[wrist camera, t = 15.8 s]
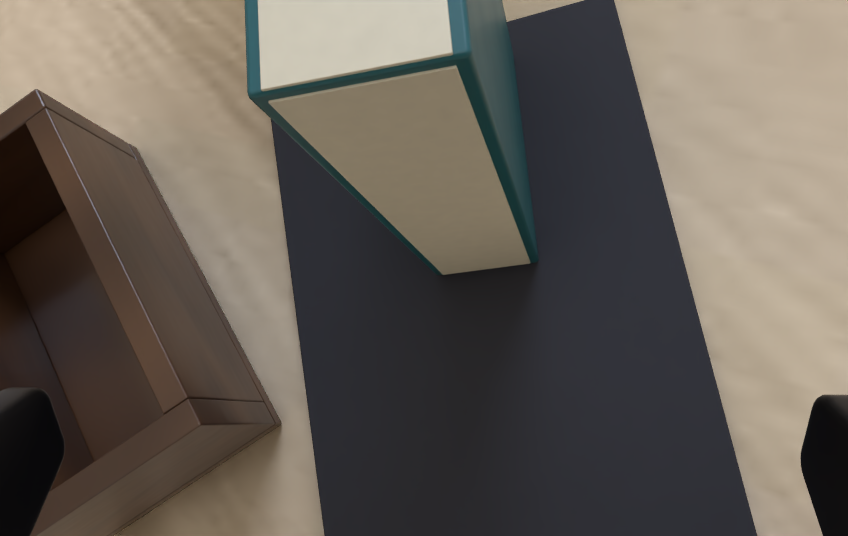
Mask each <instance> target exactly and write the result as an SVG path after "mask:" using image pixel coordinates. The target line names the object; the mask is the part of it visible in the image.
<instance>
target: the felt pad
mask: <svg viewBox="0 0 848 536" xmlns="http://www.w3.org/2000/svg"><path fill="white" fill-rule="evenodd" d="M507 27H508V32H509V36H510V41H511V46H512V51H513V56H514V64H515V72H516V80H517V88H518V96H519V104H520V112H521V120H522V128H523V136H524V144H525V152H526V161H527V169H528V177H529V185H530V193H531V201H532V209H533V217H534V225H535V233H536V241H537V249H538V257H539V260H538V262H535V263H530V264H523V265H515V266H507V267H500V268H492V269H485V270H477V271H469V272H462V273H454V274H446V275H436V274H435V273H434V272H433V271H432V270H431V269H430V268H429V267H428V266H427V265H426V264H425V263H424V262H423V261H422V260H421V259H419V258H418V257H417V256H416V255H415V254H414V253H413V252H412V251H411V250H410V249H409V248H408V247H407V246H406V245H405V244H404V243H403V242H401V241H400V240H399V239H398V238H397V237H396V236H395V235H394V234H393V233H392V232H391V231H390V230H389V229H388V228H387V227H386V226H384V225H383V224H382V223H381V222H380V221H379V220H378V219H377V218H376V217H375V216H374V215H373V214H372V213H371V212H370V211H369V210H368V209H366V208H365V207H364V206H363V205H362V204H361V203H360V202H359V201H358V200H357V199H356V198H355V197H354V196H353V195H352V194H351V193H350V192H348V191H347V190H346V189H345V188H344V187H343V186H342V185H341V184H340V183H339V182H338V181H337V180H336V179H335V178H334V177H333V176H331V175H330V174H329V173H328V172H327V171H326V170H325V169H324V168H323V167H322V166H321V165H320V164H319V163H318V162H317V161H316V160H315V159H313V158H312V157H311V156H310V155H309V154H308V153H307V152H306V151H305V150H304V149H303V148H302V147H301V146H300V145H299V144H298V143H297V142H295V141H294V140H293V139H292V138H291V137H290V136H289V135H288V134H287V133H286V132H285V131H284V130H283V129H282V128H281V127H280V126H278V125H277V124H276V123H275V122H274V121H273V120H272V119H271V122H272V130H273V138H274V146H275V153H276V161H277V169H278V177H279V185H280V192H281V200H282V208H283V216H284V223H285V231H286V239H287V247H288V254H289V262H290V270H291V278H292V286H293V293H294V301H295V309H296V317H297V324H298V332H299V340H300V348H301V355H302V363H303V371H304V379H305V387H306V394H307V402H308V410H309V418H310V425H311V433H312V441H313V449H314V456H315V464H316V472H317V480H318V488H319V495H320V503H321V511H322V519H323V526H324V534H325V536H757V534H756V530H755V526H754V523H753V519H752V515H751V511H750V508H749V504H748V500H747V496H746V493H745V489H744V485H743V481H742V478H741V474H740V470H739V466H738V463H737V459H736V455H735V451H734V448H733V444H732V440H731V436H730V433H729V429H728V425H727V422H726V418H725V414H724V410H723V407H722V403H721V399H720V395H719V392H718V388H717V384H716V380H715V377H714V373H713V369H712V365H711V362H710V358H709V354H708V350H707V347H706V343H705V339H704V335H703V332H702V328H701V324H700V321H699V317H698V313H697V309H696V306H695V302H694V298H693V294H692V291H691V287H690V283H689V279H688V276H687V272H686V268H685V264H684V261H683V257H682V253H681V249H680V246H679V242H678V238H677V234H676V231H675V227H674V223H673V220H672V216H671V212H670V208H669V205H668V201H667V197H666V193H665V190H664V186H663V182H662V178H661V175H660V171H659V167H658V163H657V160H656V156H655V152H654V148H653V145H652V141H651V137H650V133H649V130H648V126H647V122H646V119H645V115H644V111H643V107H642V104H641V100H640V96H639V92H638V89H637V85H636V81H635V77H634V74H633V70H632V66H631V62H630V59H629V55H628V51H627V47H626V44H625V40H624V36H623V32H622V29H621V25H620V21H619V18H618V14H617V10H616V6H615V3H614V0H584V1H581V2H577V3H574V4H570V5H566V6H563V7H559V8H556V9H552V10H548V11H545V12H541V13H538V14H534V15H531V16H527V17H523V18H520V19H516V20H513V21H509V22H507Z"/></svg>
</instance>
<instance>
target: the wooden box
mask: <svg viewBox="0 0 848 536" xmlns="http://www.w3.org/2000/svg"><path fill="white" fill-rule="evenodd" d="M11 387H37V388H41V389H43V390H45V391H46V392H47V394H48V395H49V397H50V399H51V402H52V405H53V408H54V411H55V413H56V416H57V419H58V422H59V425H60V428H61V431H62V434H63V436H64V440H65V454H64V458H63V461H62V464H61V466H60V469H59V471H58V473H57V476H56V478H55V480H54V482H53V485H52V487H51V489H50V492H49V494H48V496H47V499H46V501H45V503H44V506H43V508H42V510H41V513H40V515H39V517H38V519H37V522H36V524H35V526H34V529H33V531H32V533H31V536H113V535H115V534H116V533H118V532H119V531H121V530H122V529H124V528H125V527H127V526H128V525H130V524H131V523H133V522H134V521H136V520H137V519H139V518H140V517H142V516H144V515H145V514H147V513H148V512H150V511H151V510H153V509H154V508H156V507H157V506H159V505H160V504H162V503H163V502H165V501H166V500H168V499H169V498H171V497H172V496H174V495H175V494H177V493H178V492H180V491H181V490H183V489H184V488H186V487H187V486H189V485H190V484H192V483H193V482H195V481H196V480H198V479H199V478H201V477H202V476H204V475H205V474H207V473H208V472H210V471H211V470H213V469H214V468H216V467H217V466H219V465H220V464H222V463H223V462H225V461H226V460H228V459H229V458H231V457H232V456H234V455H235V454H237V453H238V452H240V451H241V450H243V449H244V448H246V447H247V446H249V445H250V444H252V443H254V442H255V441H257V440H258V439H260V438H261V437H263V436H264V435H266V434H267V433H269V432H270V431H272V430H273V429H275V428H276V427H278V426H279V425H280V424H281V421H280V420H279V418H278V416H277V414H276V412H275V410H274V408H273V406H272V404H271V402H270V401H269V399H268V397H267V395H266V393H265V391H264V389H263V387H262V385H261V383H260V382H259V380H258V378H257V376H256V374H255V372H254V370H253V368H252V366H251V364H250V363H249V361H248V359H247V357H246V355H245V353H244V351H243V349H242V347H241V346H240V344H239V342H238V340H237V338H236V336H235V334H234V332H233V330H232V328H231V327H230V325H229V323H228V321H227V319H226V317H225V315H224V313H223V311H222V309H221V308H220V306H219V304H218V302H217V300H216V298H215V296H214V294H213V292H212V290H211V289H210V287H209V285H208V283H207V281H206V279H205V277H204V275H203V273H202V272H201V270H200V268H199V266H198V264H197V262H196V260H195V258H194V256H193V254H192V253H191V251H190V249H189V247H188V245H187V243H186V241H185V239H184V237H183V235H182V234H181V232H180V230H179V228H178V226H177V224H176V222H175V220H174V218H173V217H172V215H171V213H170V211H169V209H168V207H167V205H166V203H165V201H164V199H163V198H162V196H161V194H160V192H159V190H158V188H157V186H156V184H155V182H154V180H153V179H152V177H151V175H150V173H149V171H148V169H147V167H146V165H145V163H144V161H143V160H142V158H141V156H140V154H139V152H138V150H137V148H136V147H134V146H132V145H131V144H128V143H127V142H125V141H123V140H122V139H120V138H118V137H116V136H115V135H113V134H111V133H110V132H108V131H106V130H105V129H103V128H101V127H100V126H98V125H96V124H95V123H93V122H91V121H90V120H88V119H86V118H85V117H83V116H81V115H80V114H78V113H76V112H75V111H73V110H71V109H70V108H68V107H66V106H65V105H63V104H61V103H60V102H58V101H56V100H55V99H53V98H51V97H49V96H48V95H46V94H44V93H43V92H41V91H39V90H38V89H35V90H33V91H32V92H31V93H29V94H28V95H26V96H25V97H24V98H22V99H21V100H20V101H18V102H17V103H16V104H14V105H13V106H11V107H10V108H9V109H7V110H6V111H5V112H3V113H2V114H0V391H2V390H4V389H6V388H11Z"/></svg>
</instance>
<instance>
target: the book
mask: <svg viewBox="0 0 848 536" xmlns="http://www.w3.org/2000/svg"><path fill="white" fill-rule="evenodd" d="M245 26H246V57H247V89H248V96H249V98H250V99H251V100H252V101H253V102H254V103H255V104H256V105H257V106H258V107H259V108H260V109H262V110H263V111H264V112H265V113H266V114H267V115H268V116H269V117H270V118H271V119H272V120H273V121H274V122H275V123H276V124H277V125H278V126H280V127H281V128H282V129H283V130H284V131H285V132H286V133H287V134H288V135H289V136H290V137H291V138H292V139H293V140H294V141H295V142H297V143H298V144H299V145H300V146H301V147H302V148H303V149H304V150H305V151H306V152H307V153H308V154H309V155H310V156H311V157H312V158H313V159H315V160H316V161H317V162H318V163H319V164H320V165H321V166H322V167H323V168H324V169H325V170H326V171H327V172H328V173H329V174H330V175H331V176H333V177H334V178H335V179H336V180H337V181H338V182H339V183H340V184H341V185H342V186H343V187H344V188H345V189H346V190H347V191H348V192H350V193H351V194H352V195H353V196H354V197H355V198H356V199H357V200H358V201H359V202H360V203H361V204H362V205H363V206H364V207H365V208H366V209H368V210H369V211H370V212H371V213H372V214H373V215H374V216H375V217H376V218H377V219H378V220H379V221H380V222H381V223H382V224H383V225H384V226H386V227H387V228H388V229H389V230H390V231H391V232H392V233H393V234H394V235H395V236H396V237H397V238H398V239H399V240H400V241H401V242H403V243H404V244H405V245H406V246H407V247H408V248H409V249H410V250H411V251H412V252H413V253H414V254H415V255H416V256H417V257H418V258H419V259H421V260H422V261H423V262H424V263H425V264H426V265H427V266H428V267H429V268H430V269H431V270H432V271H433V272H434V273H435V274H436V275H446V274H454V273H462V272H469V271H477V270H485V269H492V268H500V267H507V266H515V265H523V264H530V263H535V262H538V260H539V257H538V249H537V241H536V233H535V225H534V217H533V209H532V201H531V193H530V185H529V177H528V169H527V161H526V152H525V144H524V136H523V128H522V120H521V112H520V104H519V96H518V88H517V80H516V72H515V64H514V56H513V51H512V46H511V41H510V36H509V32H508V27H507V22H506V17H505V12H504V8H503V3H502V0H245Z"/></svg>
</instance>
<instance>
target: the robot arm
mask: <svg viewBox="0 0 848 536" xmlns="http://www.w3.org/2000/svg"><path fill="white" fill-rule="evenodd" d="M64 454H65V440H64V436H63V434H62V431H61V428H60V425H59V422H58V419H57V416H56V413H55V411H54V408H53V405H52V402H51V399H50V397H49V395H48V394H47V392H46V391H45V390H43V389H41V388H37V387H11V388H6V389H4V390H2V391H0V536H31V533H32V531H33V529H34V526H35V524H36V522H37V519H38V517H39V515H40V513H41V510H42V508H43V506H44V503H45V501H46V499H47V496H48V494H49V492H50V489H51V487H52V485H53V482H54V480H55V478H56V476H57V473H58V471H59V469H60V466H61V464H62V461H63V458H64ZM801 468H802V473H803V476H804V479H805V482H806V485H807V488H808V491H809V494H810V497H811V500H812V503H813V507H814V510H815V513H816V516H817V519H818V522H819V525H820V528H821V531H822V534H823V536H848V395H822V396H820V397H819V398H817V399H816V401H815V402H814V405H813V407H812V411H811V415H810V419H809V423H808V427H807V431H806V435H805V438H804V442H803V446H802V451H801Z"/></svg>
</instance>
